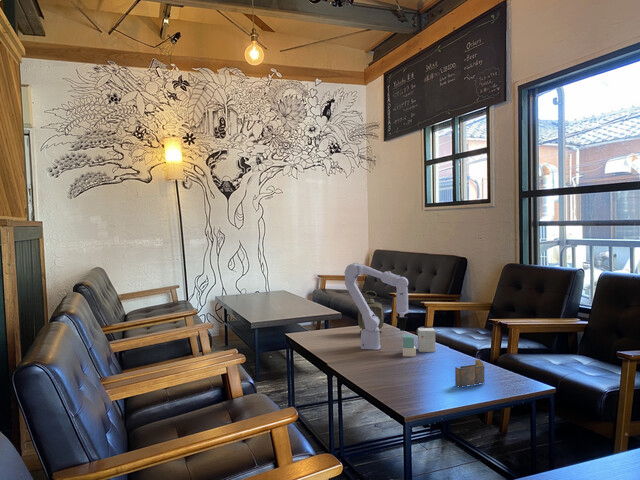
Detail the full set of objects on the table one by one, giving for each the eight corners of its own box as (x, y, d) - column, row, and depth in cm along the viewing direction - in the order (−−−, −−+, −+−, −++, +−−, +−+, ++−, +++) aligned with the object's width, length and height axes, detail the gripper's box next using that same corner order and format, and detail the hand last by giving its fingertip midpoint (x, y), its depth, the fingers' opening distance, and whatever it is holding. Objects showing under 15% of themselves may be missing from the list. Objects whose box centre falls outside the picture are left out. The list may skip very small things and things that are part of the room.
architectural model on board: (479, 382, 179) (479, 358, 178) (484, 385, 176) (484, 360, 176) (454, 386, 175) (454, 361, 175) (459, 388, 172) (459, 363, 172)
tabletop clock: (383, 332, 261) (382, 289, 260) (384, 336, 252) (383, 292, 251) (358, 332, 262) (357, 289, 261) (357, 336, 253) (357, 291, 252)
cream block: (403, 356, 215) (403, 348, 215) (402, 352, 221) (402, 344, 221) (415, 356, 214) (415, 348, 214) (415, 353, 220) (415, 345, 220)
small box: (433, 349, 226) (433, 328, 226) (435, 352, 221) (435, 330, 220) (417, 348, 227) (417, 327, 227) (418, 351, 221) (418, 330, 221)
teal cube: (403, 347, 215) (403, 337, 215) (403, 345, 220) (403, 334, 220) (413, 348, 214) (413, 337, 214) (414, 345, 219) (413, 335, 219)
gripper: (410, 304, 217) (410, 332, 217) (411, 299, 231) (411, 325, 231) (395, 304, 218) (395, 332, 219) (396, 299, 232) (397, 325, 233)
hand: (402, 328), depth 225 cm, fingers open, 7 cm apart
